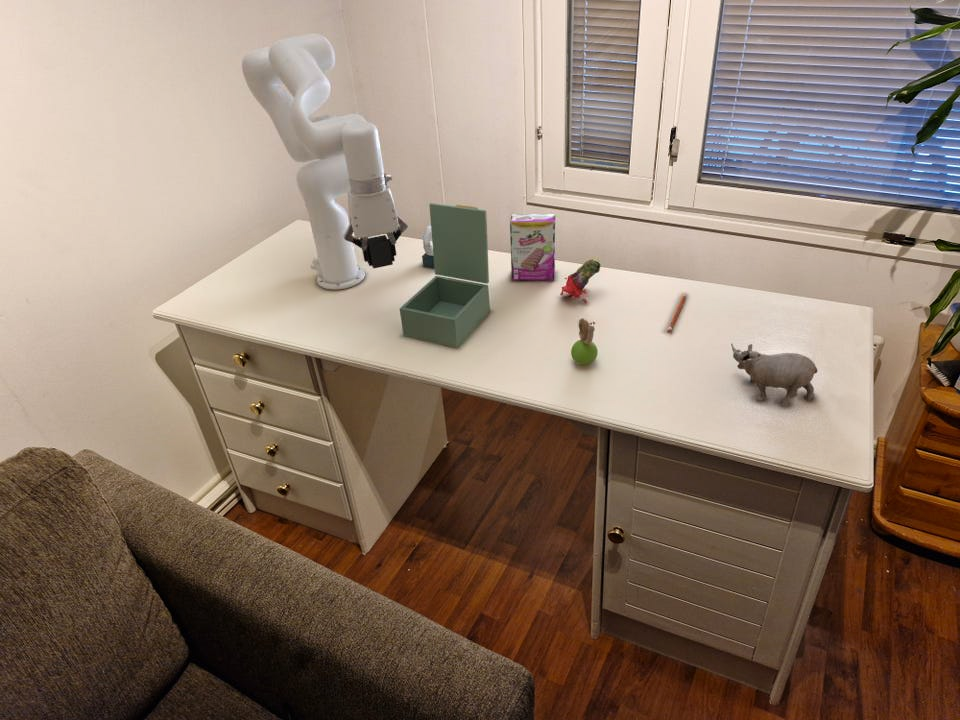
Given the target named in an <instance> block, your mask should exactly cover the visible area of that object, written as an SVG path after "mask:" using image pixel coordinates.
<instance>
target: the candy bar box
mask: <svg viewBox="0 0 960 720" xmlns="http://www.w3.org/2000/svg"><path fill="white" fill-rule="evenodd" d="M509 234H510V239H509V240H510V268H511V270H510V271H511V273H510V274H511V281H512V282H513V281H514V282H515V281H516V282H517V281H519V282H520V281H523V282H525V281H526V282H527V281H530V282H531V281H535V282H536V281H555V278H556V277H555V276H556V213H539V214H538V213H536V214H535V213H534V214H533V213H532V214H531V213H530V214H529V213H528V214H526V213H525V214H519V213H518V214H510V219H509Z"/></svg>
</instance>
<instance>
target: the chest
mask: <svg viewBox="0 0 960 720" xmlns="http://www.w3.org/2000/svg"><path fill="white" fill-rule="evenodd" d="M490 305H491V303H490V287H489V285H488V284H486V283H480V282H475V281H469V280H464V279H458V278H452V277H447V276H441V275H434V277H433V278H432V279H430V280H429V281H428V282H427V283H426V284H425V285H424V286H422V287H421V288H420V289H419V290H418V291H417V292H416V293H415V294H414V295H413V296H412V297H410V298H409V300H407V301H406V302H404V304H403V305H402V306H400V308H399V314H400V320H401V327H402V334H403V337H407V338H411V339H416V340H420V341H425V342H428V343H433V344H437V345H442V346H447V347H451V348H455V349H458V348H459V347H460V346H461V345H462V344H463V343H464V342H465V340H466V339H467V338H469V336H470V335H471V334H472V333H473V332H474V330H475V329H476V328H478V326H479V325H480V324H481V323H482V322H483V321H484V319H485V318H487V316H488V315H489V314H490V313H491V306H490Z"/></svg>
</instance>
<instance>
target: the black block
mask: <svg viewBox="0 0 960 720" xmlns="http://www.w3.org/2000/svg"><path fill="white" fill-rule="evenodd" d="M367 245H368V248H369V250H370V254H371V260H372V266H371V267H372V269H378V268H384V267H388V266H392V265H394V263H393V262H394V261H392V256H391V249H390V243H389V241H388V236H387V234H381V235H376V236H371V237H368V243H367Z"/></svg>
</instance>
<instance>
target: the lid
mask: <svg viewBox="0 0 960 720" xmlns="http://www.w3.org/2000/svg"><path fill="white" fill-rule="evenodd" d="M428 204H429V218H430V225H431V231H432V237H431V242H432V248H433V256H434V268H433V269H434V275H435V276H441V277H446V278H452V279H457V280H463V281H468V282H474V283H479V284H485V285H488V284H489V283H490V275H489V274H490V273H489V245H488V244H489V242H488V218H487V217H488V215H487V209H479V208H478V207H477V206H470V205H462V204H456V205H447V204H440V203H434V202H431V203H428Z"/></svg>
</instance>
